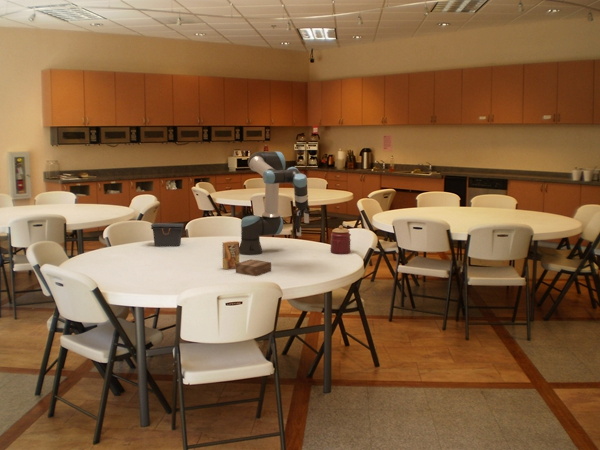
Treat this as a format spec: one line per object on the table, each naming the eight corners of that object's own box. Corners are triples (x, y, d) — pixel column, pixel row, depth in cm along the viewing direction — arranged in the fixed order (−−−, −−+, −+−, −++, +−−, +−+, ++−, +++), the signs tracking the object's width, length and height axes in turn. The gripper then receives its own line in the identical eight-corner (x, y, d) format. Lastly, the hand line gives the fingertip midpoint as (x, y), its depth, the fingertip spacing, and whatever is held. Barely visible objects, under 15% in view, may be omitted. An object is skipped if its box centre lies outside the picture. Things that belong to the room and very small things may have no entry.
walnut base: (235, 272, 348) (235, 263, 347) (251, 267, 359) (251, 259, 358) (256, 275, 340) (256, 266, 339) (271, 271, 352) (271, 262, 351)
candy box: (237, 266, 362) (236, 240, 360) (239, 268, 358) (239, 241, 356) (222, 268, 358) (222, 241, 356) (224, 269, 354) (224, 242, 352)
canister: (327, 253, 402) (327, 226, 400) (334, 249, 414) (334, 223, 412) (346, 255, 398) (347, 227, 395) (353, 251, 409) (353, 224, 407)
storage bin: (184, 243, 433) (184, 222, 430) (182, 247, 417) (182, 226, 415) (153, 243, 430) (152, 223, 428) (150, 248, 415) (149, 226, 413)
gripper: (300, 212, 348) (301, 242, 361) (314, 188, 367) (315, 218, 379) (287, 210, 350) (289, 240, 363) (302, 186, 369) (303, 216, 382)
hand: (302, 229), depth 371 cm, fingers open, 13 cm apart
